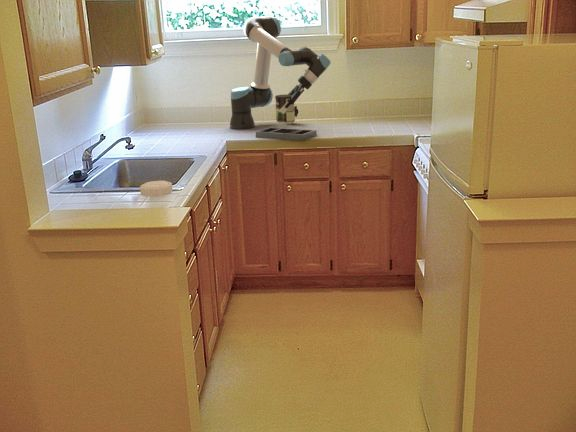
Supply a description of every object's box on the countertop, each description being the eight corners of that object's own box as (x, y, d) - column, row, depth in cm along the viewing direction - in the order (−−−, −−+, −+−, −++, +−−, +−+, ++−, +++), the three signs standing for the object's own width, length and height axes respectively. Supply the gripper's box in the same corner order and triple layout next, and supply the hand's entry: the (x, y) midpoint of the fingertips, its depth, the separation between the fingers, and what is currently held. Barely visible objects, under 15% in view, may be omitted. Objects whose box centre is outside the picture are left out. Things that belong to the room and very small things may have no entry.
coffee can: (277, 123, 326) (275, 97, 322) (275, 120, 336) (274, 95, 332) (296, 122, 327) (295, 96, 323) (294, 119, 337) (293, 94, 333)
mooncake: (174, 187, 239) (173, 179, 238) (170, 196, 227) (169, 186, 226) (144, 189, 238) (143, 180, 237) (138, 197, 227) (136, 188, 226)
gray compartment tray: (255, 137, 336) (255, 131, 335) (270, 132, 348) (270, 127, 347) (303, 140, 321) (302, 135, 320) (316, 135, 333) (316, 130, 332)
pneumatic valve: (293, 125, 369) (292, 105, 365) (280, 123, 378) (280, 103, 374) (300, 124, 372) (299, 104, 369) (287, 122, 381) (286, 102, 377)
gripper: (298, 73, 336) (271, 103, 339) (306, 76, 315) (277, 108, 318) (308, 82, 339) (281, 112, 341) (316, 86, 317) (288, 118, 320)
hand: (279, 110), depth 329 cm, fingers closed on coffee can, 10 cm apart
